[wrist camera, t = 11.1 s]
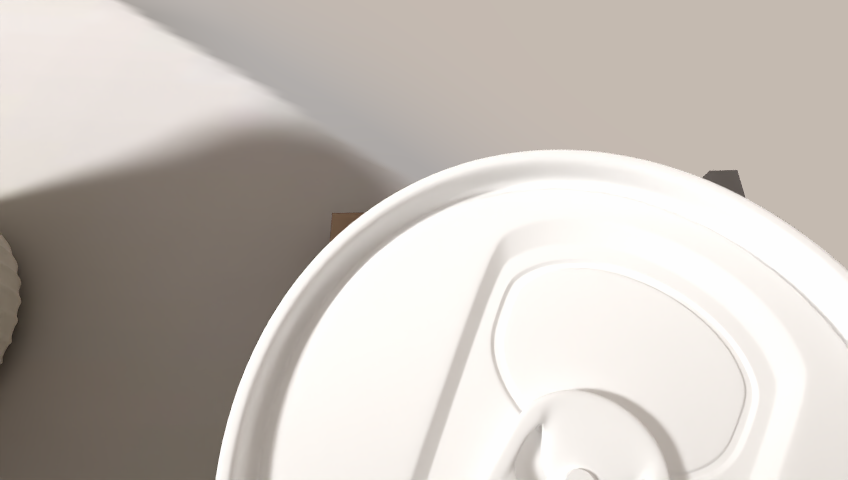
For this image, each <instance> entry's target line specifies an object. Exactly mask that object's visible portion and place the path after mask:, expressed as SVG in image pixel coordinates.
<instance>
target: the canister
mask: <svg viewBox="0 0 848 480" xmlns="http://www.w3.org/2000/svg"><path fill="white" fill-rule="evenodd" d="M17 271H18V264H17V262H16V260H15V258H14V257H13V256H12V250H11V248H10V245H9V243H8V242H7V241H6V239H5V238H4V237H3V236H2V235H1V233H0V364H1V363H2V358H3V355H4V353H5V350H6V349H7V347H8V345H9V344H11V342H12V339H11V338H12V333H13V330H14V327H15V325H16V324H17V323H18V318H17V311H18V308H19V306H20V304H21V298H20V297H19V289H20V287H21V280H20V278H19V276H18V275H17Z"/></svg>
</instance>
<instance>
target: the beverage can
mask: <svg viewBox="0 0 848 480" xmlns="http://www.w3.org/2000/svg"><path fill="white" fill-rule="evenodd" d="M216 480H848V270H847V269H846V268H845V267H844V266H843V265H841V263H839V262H838V261H837V260H836V259H835V258H834V257H832V256H831V255H830V254H828V253H827V252H826V251H825V250H824V249H823V248H821V247H820V246H819V245H817V244H816V243H815V242H814V241H812V240H811V239H810V238H808V237H807V236H805V235H804V234H803V233H801V232H800V231H799V230H797V229H795V228H794V227H793V226H791V225H790V224H788V223H787V222H785V221H784V220H782V219H781V218H779V217H778V216H776V215H774V214H773V213H771V212H770V211H768V210H766V209H764V208H763V207H761V206H759V205H758V204H756V203H754V202H752V201H750V200H748V199H747V198H745V197H743V196H741V195H739V194H737V193H735V192H733V191H731V190H729V189H727V188H725V187H722V186H720V185H718V184H715V183H713V182H711V181H709V180H706V179H704V178H701V177H698V176H696V175H693V174H690V173H688V172H685V171H682V170H679V169H676V168H673V167H669V166H666V165H663V164H659V163H655V162H652V161H647V160H643V159H639V158H634V157H629V156H623V155H618V154H612V153H604V152H595V151H582V150H537V151H525V152H516V153H509V154H503V155H497V156H492V157H487V158H483V159H479V160H475V161H471V162H468V163H464V164H461V165H457V166H454V167H452V168H448V169H446V170H443V171H440V172H438V173H435V174H433V175H431V176H428V177H426V178H424V179H421V180H419V181H417V182H415V183H413V184H411V185H409V186H407V187H405V188H403V189H402V190H400V191H398V192H396V193H394V194H393V195H391V196H389V197H388V198H386V199H384V200H383V201H381V202H380V203H378V204H377V205H375V206H374V207H372V208H371V209H370V210H368V211H367V212H365V213H364V214H363V215H361V216H360V217H359V218H358V219H356V220H355V221H354V222H352V223H351V224H350V225H349V226H348V227H346V228H345V229H344V230H343V231H342V232H341V233H340V234H338V235H337V236H336V237H335V238H334V239H333V240H332V241H331V242H330V243H329V244H328V245H327V246H326V247H325V248H324V249H323V250H322V251H321V252H320V253H319V254H318V255H317V256H316V257H315V259H314V260H313V261H312V262H311V263H310V264H309V265H308V267H307V268H306V269H305V270H304V271H303V273H302V274H301V275H300V276H299V278H298V279H297V280H296V281H295V283H294V284H293V285H292V287H291V288H290V290H289V291H288V292H287V294H286V295H285V297H284V298H283V300H282V301H281V303H280V304H279V306H278V307H277V309H276V310H275V312H274V314H273V315H272V317H271V319H270V320H269V322H268V324H267V326H266V327H265V329H264V331H263V333H262V335H261V337H260V339H259V341H258V343H257V345H256V347H255V349H254V351H253V353H252V355H251V357H250V360H249V362H248V364H247V366H246V369H245V371H244V374H243V376H242V379H241V382H240V384H239V387H238V390H237V393H236V396H235V399H234V401H233V404H232V408H231V411H230V415H229V418H228V421H227V425H226V429H225V433H224V437H223V441H222V446H221V451H220V456H219V461H218V467H217V473H216Z"/></svg>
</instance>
